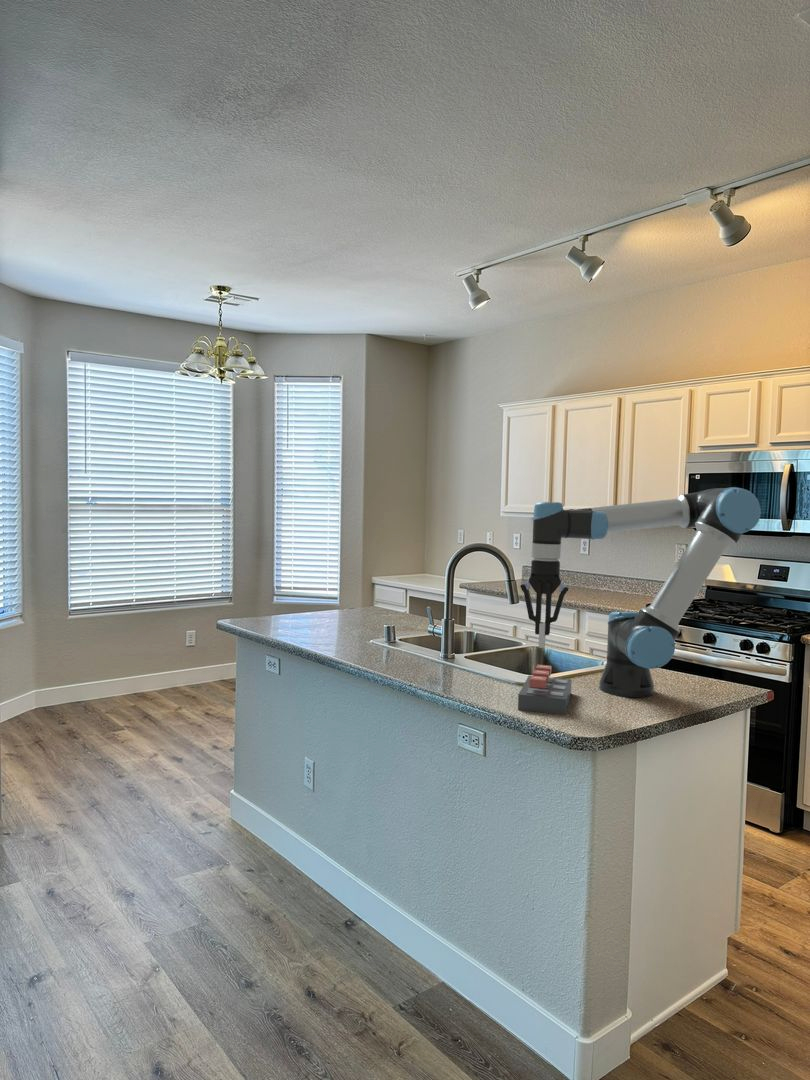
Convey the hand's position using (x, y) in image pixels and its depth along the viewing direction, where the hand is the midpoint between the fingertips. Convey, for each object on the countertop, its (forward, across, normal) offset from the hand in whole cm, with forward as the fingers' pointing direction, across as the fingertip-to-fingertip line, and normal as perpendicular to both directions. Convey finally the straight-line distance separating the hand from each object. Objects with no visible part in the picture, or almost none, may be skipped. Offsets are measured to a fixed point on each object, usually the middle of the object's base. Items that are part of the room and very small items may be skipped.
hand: (541, 646), depth 201 cm
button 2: (+9, 0, 0) cm, 9 cm away
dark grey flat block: (+15, -2, -2) cm, 15 cm away
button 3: (+9, 0, +7) cm, 11 cm away
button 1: (+9, 0, -7) cm, 11 cm away
